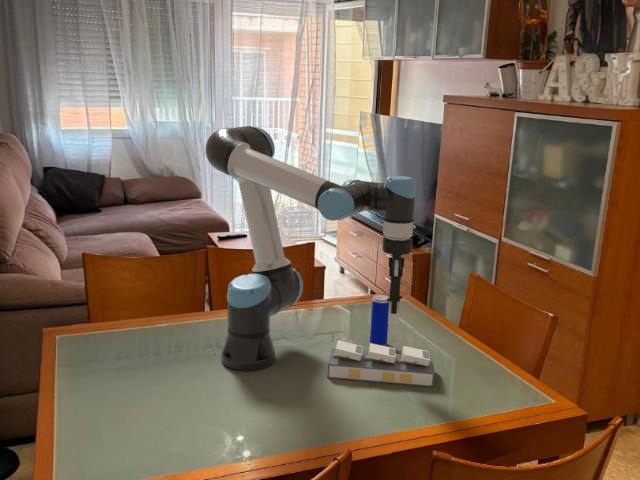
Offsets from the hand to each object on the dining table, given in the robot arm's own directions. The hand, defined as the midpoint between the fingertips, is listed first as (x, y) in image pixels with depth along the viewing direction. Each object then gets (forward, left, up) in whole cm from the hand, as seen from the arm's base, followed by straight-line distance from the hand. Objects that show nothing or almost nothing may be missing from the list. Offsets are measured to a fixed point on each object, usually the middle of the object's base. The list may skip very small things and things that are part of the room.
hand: (393, 323), depth 163 cm
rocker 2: (-2, 0, -10) cm, 10 cm away
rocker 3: (+7, 0, -10) cm, 12 cm away
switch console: (-2, 0, -15) cm, 15 cm away
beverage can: (-3, +20, -15) cm, 26 cm away
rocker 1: (-11, 0, -10) cm, 15 cm away
